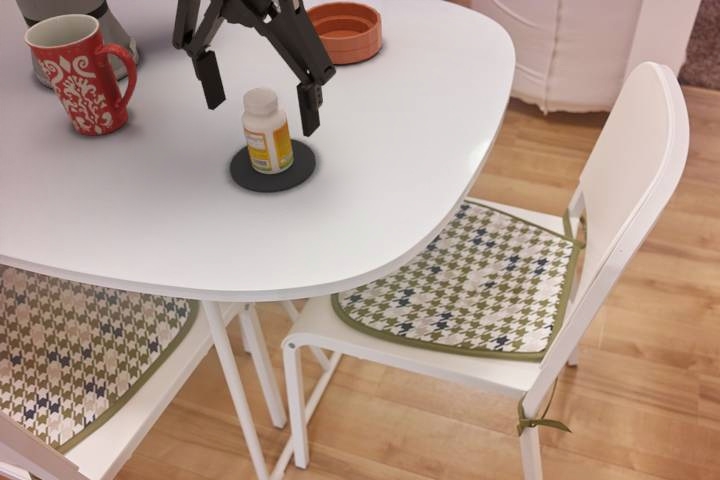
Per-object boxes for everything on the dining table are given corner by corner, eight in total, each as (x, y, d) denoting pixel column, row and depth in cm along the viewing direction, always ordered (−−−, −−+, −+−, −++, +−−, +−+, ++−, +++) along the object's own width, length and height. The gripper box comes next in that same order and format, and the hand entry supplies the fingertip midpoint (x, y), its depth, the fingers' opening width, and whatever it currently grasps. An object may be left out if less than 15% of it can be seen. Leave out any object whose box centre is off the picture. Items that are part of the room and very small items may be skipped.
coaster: (216, 159, 80) (215, 156, 80) (290, 130, 85) (290, 128, 84) (253, 204, 74) (253, 201, 74) (331, 170, 78) (331, 168, 78)
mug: (53, 135, 84) (7, 42, 74) (90, 100, 90) (51, 10, 80) (136, 147, 82) (100, 53, 72) (168, 110, 88) (138, 19, 78)
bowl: (287, 42, 102) (283, 15, 99) (354, 20, 107) (353, -6, 104) (327, 75, 95) (324, 47, 91) (397, 50, 100) (397, 23, 97)
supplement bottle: (289, 146, 81) (278, 80, 74) (297, 170, 78) (286, 104, 71) (249, 154, 80) (233, 88, 73) (255, 179, 77) (239, 112, 70)
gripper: (359, -67, 57) (368, 125, 73) (149, -102, 65) (199, 79, 80) (320, -38, 53) (338, 160, 68) (98, -79, 60) (161, 109, 76)
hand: (263, 117), depth 74 cm, fingers open, 13 cm apart
